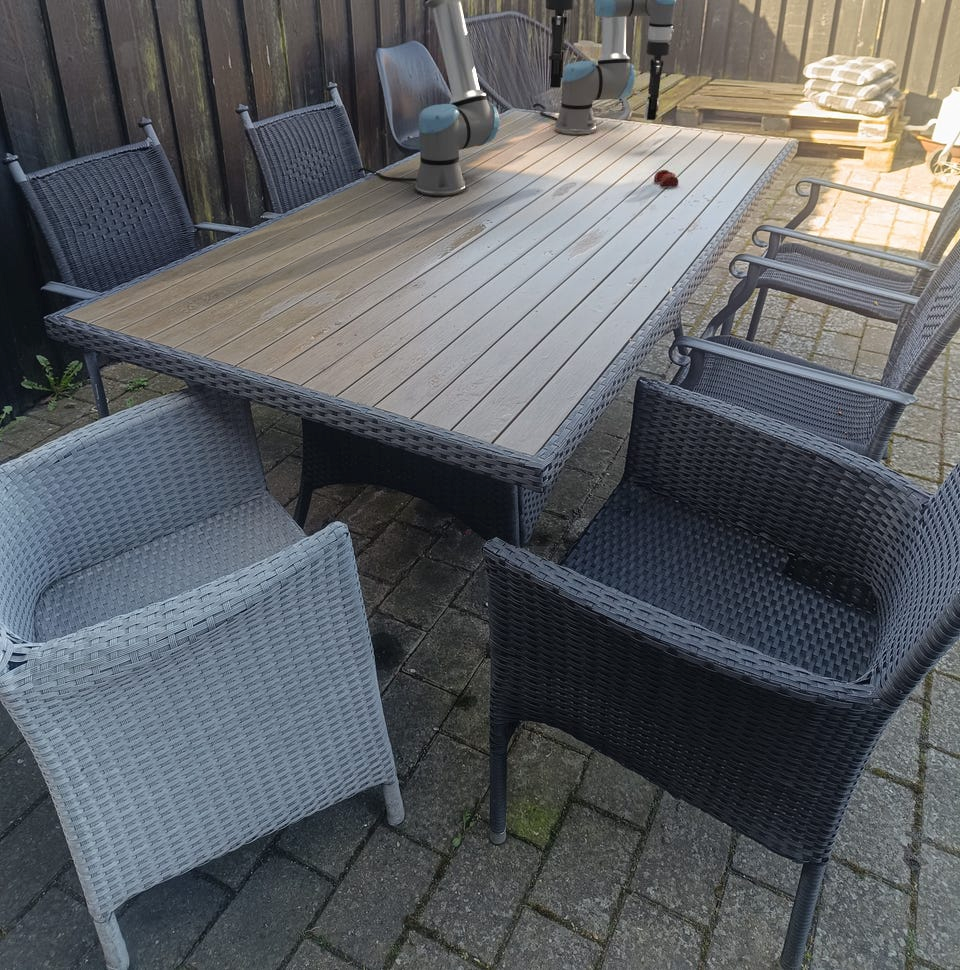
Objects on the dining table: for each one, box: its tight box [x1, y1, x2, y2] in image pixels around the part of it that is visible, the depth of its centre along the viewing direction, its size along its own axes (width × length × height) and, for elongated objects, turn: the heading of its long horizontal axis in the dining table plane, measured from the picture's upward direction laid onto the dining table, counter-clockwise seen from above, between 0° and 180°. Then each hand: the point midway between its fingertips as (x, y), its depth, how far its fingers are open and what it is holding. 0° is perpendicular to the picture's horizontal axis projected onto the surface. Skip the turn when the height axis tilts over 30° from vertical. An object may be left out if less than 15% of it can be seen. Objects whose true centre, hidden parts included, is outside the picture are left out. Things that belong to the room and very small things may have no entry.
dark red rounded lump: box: [653, 169, 679, 188], centre depth 261 cm, size 6×4×8 cm
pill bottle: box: [643, 94, 660, 122], centre depth 283 cm, size 4×4×8 cm
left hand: (556, 82), depth 227 cm, fingers open, 13 cm apart
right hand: (650, 117), depth 285 cm, fingers closed on pill bottle, 4 cm apart
